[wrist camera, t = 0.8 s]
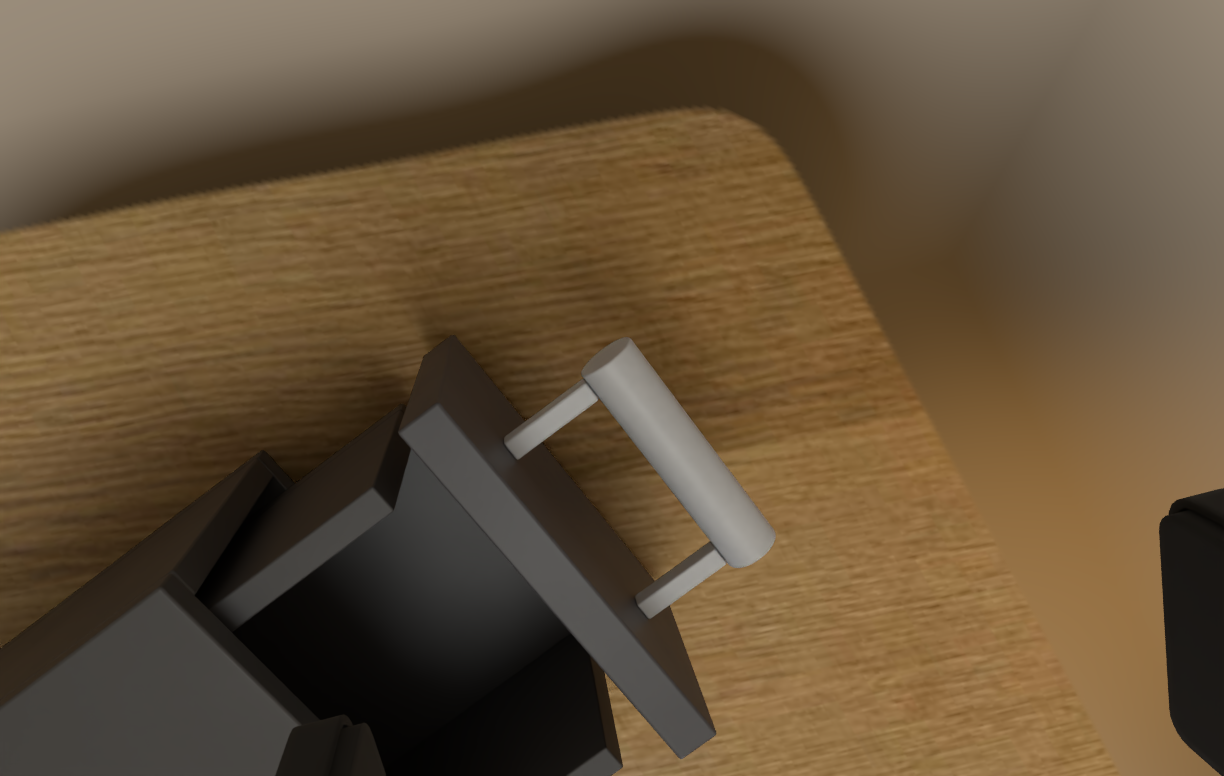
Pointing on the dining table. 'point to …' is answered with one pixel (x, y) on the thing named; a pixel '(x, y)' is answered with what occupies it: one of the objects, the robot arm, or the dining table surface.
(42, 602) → the dining table surface
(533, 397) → the dining table surface
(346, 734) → the robot arm
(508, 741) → the drawer front with handle
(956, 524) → the dining table surface
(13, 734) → the dark grey drawer box
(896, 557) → the dining table surface
